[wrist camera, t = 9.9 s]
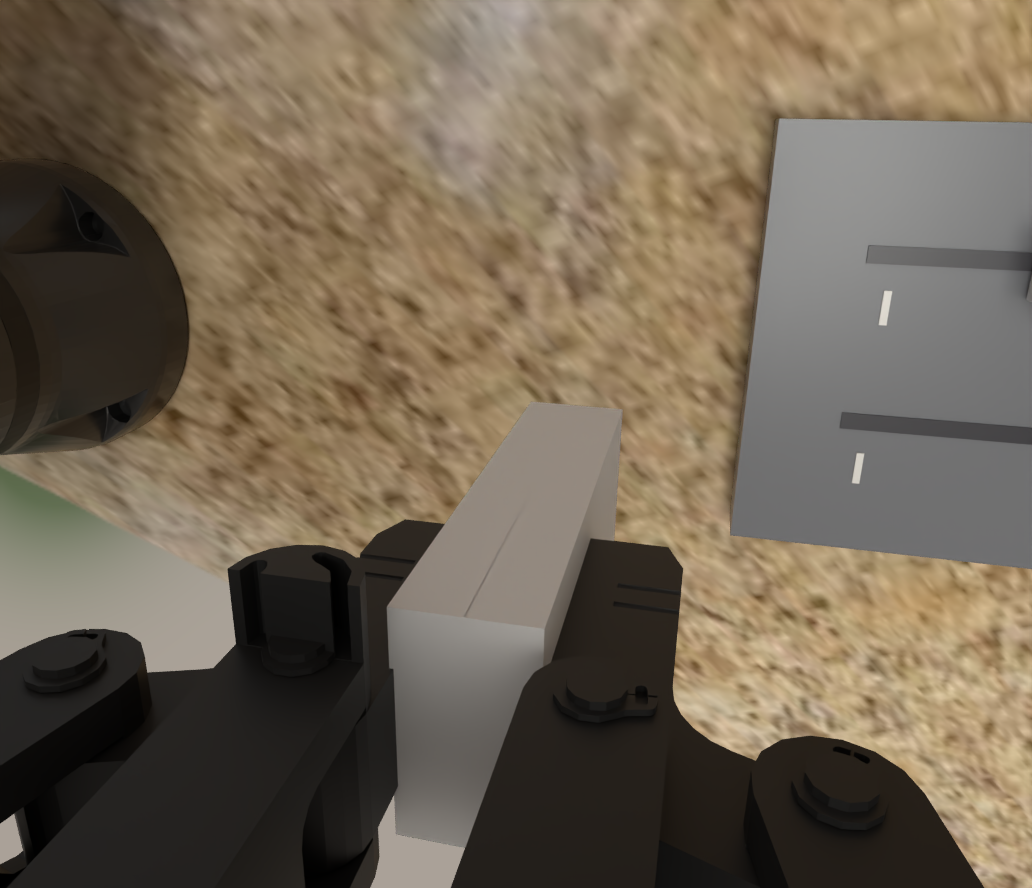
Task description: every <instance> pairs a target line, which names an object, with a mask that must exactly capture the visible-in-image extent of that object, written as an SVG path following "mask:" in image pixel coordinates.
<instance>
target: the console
mask: <svg viewBox="0 0 1032 888" xmlns="http://www.w3.org/2000/svg"><path fill="white" fill-rule="evenodd" d="M1031 276H1032V123H1021V122H959V121H896V120H834V119H775V128H774V137H773V145H772V154H771V162H770V171H769V180H768V188H767V197H766V206H765V214H764V223H763V231H762V240H761V249H760V257H759V266H758V274H757V283H756V292H755V300H754V309H753V317H752V326H751V335H750V343H749V352H748V361H747V369H746V378H745V386H744V395H743V404H742V412H741V421H740V429H739V438H738V447H737V455H736V464H735V472H734V481H733V490H732V498H731V507H730V535H733V536H742V537H751V538H760V539H769V540H777V541H786V542H795V543H804V544H813V545H822V546H831V547H840V548H849V549H858V550H867V551H876V552H884V553H893V554H902V555H911V556H920V557H929V558H938V559H947V560H956V561H965V562H974V563H983V564H991V565H1000V566H1009V567H1018V568H1027V569H1032V302H1030V301H1028V300H1027V299H1026V298H1027V294H1028V290H1029V285H1030V281H1031Z"/></svg>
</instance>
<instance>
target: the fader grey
mask: <svg viewBox="0 0 1032 888" xmlns="http://www.w3.org/2000/svg"><path fill="white" fill-rule="evenodd" d="M1026 299H1027V300H1028V301H1030V302H1032V276H1031V281H1030V285H1029V290H1028V294H1027V298H1026Z"/></svg>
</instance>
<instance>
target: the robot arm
mask: <svg viewBox="0 0 1032 888" xmlns="http://www.w3.org/2000/svg"><path fill="white" fill-rule="evenodd" d="M187 340H188V325H187V314H186V308H185V302H184V298H183V293H182V290H181V286H180V283H179V280H178V277H177V274H176V272H175V269H174V267H173V264H172V262H171V260H170V258H169V256H168V254H167V252H166V250H165V248H164V247H163V245H162V243H161V241H160V240H159V238H158V237H157V235H156V234H155V232H154V231H153V229H152V228H151V227H150V225H149V224H148V223H147V221H146V220H145V219H144V218H143V216H142V215H141V214H140V213H139V212H138V211H137V210H136V209H135V208H134V207H133V205H132V204H131V203H129V202H128V201H127V200H126V199H125V198H124V197H123V196H122V195H121V194H119V193H118V192H117V191H116V190H114V189H113V188H112V187H110V186H109V185H108V184H106V183H105V182H103V181H101V180H100V179H98V178H97V177H95V176H93V175H91V174H89V173H87V172H85V171H83V170H81V169H78V168H76V167H73V166H70V165H67V164H64V163H60V162H56V161H50V160H42V159H19V160H0V455H8V454H24V453H41V452H58V451H74V450H83V449H88V448H93V447H96V446H100V445H103V444H106V443H109V442H111V441H113V440H115V439H117V438H119V437H121V436H123V435H125V434H127V433H129V432H131V431H133V430H135V429H137V428H139V427H141V426H142V425H144V424H145V423H147V422H148V421H150V420H151V419H152V418H153V417H154V416H155V415H157V414H158V413H159V412H160V410H161V409H162V408H163V407H164V406H165V405H166V403H167V402H168V401H169V399H170V398H171V396H172V394H173V392H174V391H175V389H176V387H177V384H178V382H179V380H180V377H181V374H182V371H183V367H184V363H185V358H186V352H187ZM622 410H623V409H612V408H600V407H588V406H577V405H565V404H553V403H541V402H530V404H529V405H528V407H527V408H526V410H525V411H524V412H523V414H522V415H521V417H520V418H519V420H518V421H517V422H516V424H515V425H514V427H513V428H512V429H511V431H510V432H509V434H508V435H507V437H506V438H505V439H504V441H503V442H502V444H501V445H500V447H499V448H498V449H497V451H496V452H495V454H494V455H493V457H492V458H491V459H490V461H489V462H488V464H487V465H486V466H485V468H484V469H483V471H482V472H481V474H480V475H479V476H478V478H477V479H476V481H475V482H474V484H473V485H472V486H471V488H470V489H469V491H468V492H467V493H466V495H465V496H464V498H463V499H462V501H461V502H460V503H459V505H458V506H457V508H456V509H455V511H454V512H453V513H452V515H451V516H450V518H449V519H448V520H447V522H446V523H445V524H440V523H431V522H423V521H414V520H406V519H405V520H404V521H402V522H400V523H398V524H396V525H394V526H392V527H390V528H388V529H386V530H384V531H382V532H380V533H378V534H377V535H376V536H375V537H374V538H373V539H372V541H371V542H370V543H369V544H368V545H367V547H366V548H365V549H364V550H363V551H362V552H361V554H360V558H359V557H357V558H355V557H354V556H352V555H351V554H349V553H347V552H346V551H343V550H339V549H335V548H331V547H327V546H320V545H293V546H286V547H280V548H273V549H269V550H266V551H263V552H260V553H257V554H254V555H251V556H248V557H246V558H244V559H242V560H241V561H239V562H238V563H236V564H234V565H233V566H231V567H230V568H228V577H229V586H230V594H231V603H232V611H233V620H234V630H235V638H236V645H235V646H234V647H233V648H232V649H231V650H230V651H229V652H228V653H227V654H226V655H225V656H224V657H223V659H222V660H221V661H220V662H219V663H218V664H217V665H216V666H215V667H214V668H211V669H202V670H184V671H169V672H168V671H167V672H151V673H147V669H146V662H145V656H144V652H143V649H142V645H141V642H139V641H138V640H136V639H135V638H133V637H132V636H130V635H129V634H127V633H123V632H118V631H112V630H107V629H89V630H86V629H82V630H73V631H69V632H67V633H65V634H60V635H56V636H52V637H48V638H46V639H43V640H41V641H39V642H36V643H34V644H32V645H29V646H27V647H25V648H22V649H20V650H18V651H16V652H15V653H13V654H11V655H9V656H7V657H5V658H3V659H2V660H0V823H1V822H3V821H4V820H6V819H7V818H9V817H10V816H11V815H13V814H15V819H16V823H17V827H18V831H19V835H20V839H21V844H22V848H23V851H22V852H21V853H20V854H19V855H17V856H16V857H14V858H12V859H10V860H8V861H6V862H4V863H2V864H0V888H370V887H371V884H372V882H373V880H374V878H375V874H376V870H377V865H378V861H379V840H378V826H379V824H380V822H381V820H382V818H383V816H384V814H385V812H386V810H387V808H388V806H389V804H390V802H391V800H392V797H393V796H394V798H395V821H396V822H395V823H396V834H398V835H402V836H407V837H412V838H418V839H423V840H428V841H433V842H438V843H443V844H448V845H453V846H459V847H464V848H465V850H464V853H463V856H462V859H461V861H460V864H459V867H458V869H457V872H456V875H455V878H454V880H453V883H452V886H451V888H984V887H983V885H982V883H981V882H980V880H979V879H978V877H977V876H976V874H975V872H974V871H973V869H972V868H971V866H970V865H969V863H968V861H967V860H966V858H965V857H964V855H963V853H962V852H961V850H960V849H959V847H958V846H957V844H956V842H955V841H954V839H953V838H952V836H951V834H950V833H949V831H948V830H947V828H946V827H945V825H944V823H943V822H942V820H941V819H940V817H939V815H938V814H937V812H936V811H935V809H934V808H933V806H932V804H931V803H930V801H929V800H928V798H927V796H926V795H925V793H924V792H923V791H922V790H921V789H920V788H919V787H918V786H917V785H916V783H915V782H914V781H913V780H912V779H911V778H910V777H909V776H908V775H907V773H906V772H905V771H904V770H902V769H901V768H899V767H898V766H896V765H895V764H893V763H891V762H890V761H888V760H887V759H885V758H884V757H882V756H881V755H879V754H877V753H876V752H874V751H871V750H868V749H866V748H863V747H860V746H858V745H855V744H852V743H849V742H847V741H844V740H839V739H832V738H824V737H816V736H804V737H797V738H790V739H783V740H780V741H779V742H777V743H775V744H773V745H772V746H770V747H768V748H766V749H765V750H763V751H761V753H760V755H759V756H758V758H757V760H756V761H755V760H752V759H750V758H747V757H745V756H742V755H740V754H737V753H735V752H732V751H730V750H728V749H726V748H724V747H722V746H720V745H718V744H716V743H714V742H712V741H710V740H709V739H707V738H706V737H705V736H703V735H702V734H700V733H699V732H698V731H696V730H695V729H694V728H693V727H692V726H691V725H690V724H689V723H688V722H687V721H686V720H685V718H684V717H683V716H682V715H681V714H680V712H679V710H678V708H677V706H676V704H675V702H674V696H673V676H674V665H675V653H676V642H677V631H678V619H679V608H680V597H681V585H682V574H683V568H682V566H681V565H680V564H679V562H678V561H677V559H676V558H675V556H674V555H673V554H672V552H671V551H670V549H669V548H668V547H661V546H652V545H644V544H635V543H627V542H618V541H614V534H615V519H616V503H617V488H618V472H619V457H620V441H621V426H622Z"/></svg>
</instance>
